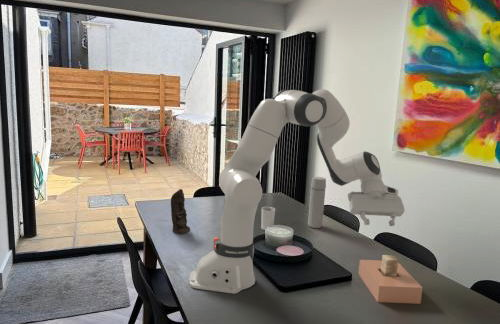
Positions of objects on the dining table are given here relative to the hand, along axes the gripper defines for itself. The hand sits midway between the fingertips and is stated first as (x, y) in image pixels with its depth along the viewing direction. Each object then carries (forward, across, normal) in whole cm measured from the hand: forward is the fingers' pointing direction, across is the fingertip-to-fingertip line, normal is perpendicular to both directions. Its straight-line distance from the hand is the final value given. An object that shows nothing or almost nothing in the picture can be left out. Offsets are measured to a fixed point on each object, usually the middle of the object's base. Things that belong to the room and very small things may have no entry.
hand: (379, 224), depth 140 cm
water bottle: (-23, -13, +49) cm, 55 cm away
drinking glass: (-18, -38, +44) cm, 61 cm away
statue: (-11, -79, +38) cm, 88 cm away
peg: (+21, 0, +4) cm, 21 cm away
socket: (+22, 0, +4) cm, 22 cm away
